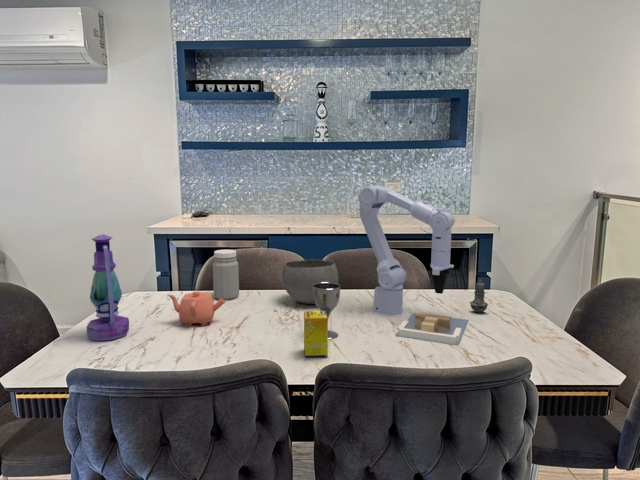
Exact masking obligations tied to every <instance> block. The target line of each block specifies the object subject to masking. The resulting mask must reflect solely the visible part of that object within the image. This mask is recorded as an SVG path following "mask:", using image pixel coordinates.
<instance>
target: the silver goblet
mask: <svg viewBox="0 0 640 480" xmlns="http://www.w3.org/2000/svg"><path fill="white" fill-rule="evenodd" d="M340 295H341V285H340V284H339V283H338V284H337V283H332V282H321V283H316V284H314V285H313V297H314V302H315V306H316V308H317V309H318V310H319V311H326V315H327V318H328V319H329V318H330V316H331V315H330V314H331V313H332V312H333V311H334V310H335V308H336V307H337V306H338V304H339V301H340V297H341V296H340ZM338 337H339V333H337V331H333V330H328V340H333V339H337V338H338Z"/></svg>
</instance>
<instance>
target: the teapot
mask: <svg viewBox="0 0 640 480" xmlns="http://www.w3.org/2000/svg"><path fill="white" fill-rule="evenodd" d="M167 296H168V297H169V298H170V299H171V301H172V303H173V308H174V310H175V311H176V312H177V313H178V318H179V319H178V320H179V322H180V323H182V324H185V325H184V327H191V326H192V324H200V326H201V327H206V326H208V323H210V322H211V321H213V318H214V316H215V312H216V311H217V310H218V309H220V308H221V307H222V306H223V305H224V304H225V303H226V300H223V299H222V298H221V299H220V300H218V301H216V303H214V302H215V301H214V299H213V296H212V293H210V292H209V293H208V292H201V291H199V290H197V291H192V293H185V294H184V295H183V296H182V297H181V300H180V303H179V302H178V299H177V297H176V296H175V295H173V294H167Z"/></svg>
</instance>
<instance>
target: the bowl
mask: <svg viewBox="0 0 640 480" xmlns="http://www.w3.org/2000/svg"><path fill="white" fill-rule="evenodd" d="M282 282H283V287H284V289H285V291H286V293H287V294H288V295H289V296H290V298H292V299H293V300H294V301H296V302H299V303H301V304H305V305H313V304H315V302H314V297H313V285H314V284H316V283H321V282H332V283H337V284H339V271H338V268H337V265H336V263H335V262H334V261H332V260H328V259H326V260H324V259H315V258H314V259H311V258H310V259H302V260H292V261H286V262H285V263H284V264H283V267H282ZM315 305H316V304H315Z"/></svg>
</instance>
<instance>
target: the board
mask: <svg viewBox="0 0 640 480" xmlns="http://www.w3.org/2000/svg"><path fill="white" fill-rule="evenodd" d="M417 313H418V312H412V313H411V315H410V316H409V317H408V319H407V320H406V321H409V328H408V329H413V330H420V331H421V329H417V328H415V315H416V314H417ZM469 321H470V319H464V318H458V317H457V318H456V317H451V326H450V331H449V333H445V332H438V331H437V333H441V334H447V335H453V334H454V331H455V329H456V328H462V330H461V337H460V339H459V342H458V343H456V344H449V343H442V342H436V341H429V340H422V339H416V338H409V337H403V336H398V331H397V332H396V334H394V337H399V338H406V339H412V340H419V341H425V342H432V343H436V344H437V343H438V344H444V345H451V346H460V344H461V341H462V339H463V337H464V334H465V331H466V328H467V326H468V323H469Z"/></svg>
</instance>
